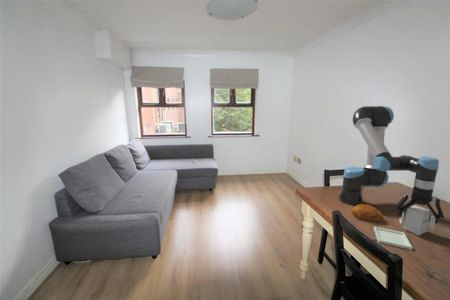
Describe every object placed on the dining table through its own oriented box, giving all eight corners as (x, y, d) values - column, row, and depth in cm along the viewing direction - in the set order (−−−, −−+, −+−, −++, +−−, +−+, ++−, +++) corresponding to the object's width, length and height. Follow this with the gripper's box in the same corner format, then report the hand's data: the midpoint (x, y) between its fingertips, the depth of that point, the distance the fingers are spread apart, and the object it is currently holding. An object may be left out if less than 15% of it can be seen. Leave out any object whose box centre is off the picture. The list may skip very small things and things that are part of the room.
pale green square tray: (373, 228, 117) (373, 226, 116) (403, 234, 111) (404, 232, 111) (378, 242, 105) (378, 240, 105) (412, 250, 100) (412, 247, 99)
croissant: (381, 228, 121) (386, 216, 119) (350, 217, 128) (354, 206, 126) (378, 216, 133) (382, 205, 131) (350, 207, 140) (354, 196, 138)
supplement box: (419, 236, 110) (423, 213, 108) (402, 228, 117) (406, 207, 114) (427, 232, 113) (431, 210, 110) (410, 225, 120) (414, 204, 117)
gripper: (395, 186, 112) (389, 223, 116) (459, 194, 101) (449, 234, 106) (392, 181, 118) (386, 217, 123) (451, 188, 108) (442, 227, 113)
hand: (415, 225), depth 114 cm, fingers open, 12 cm apart
